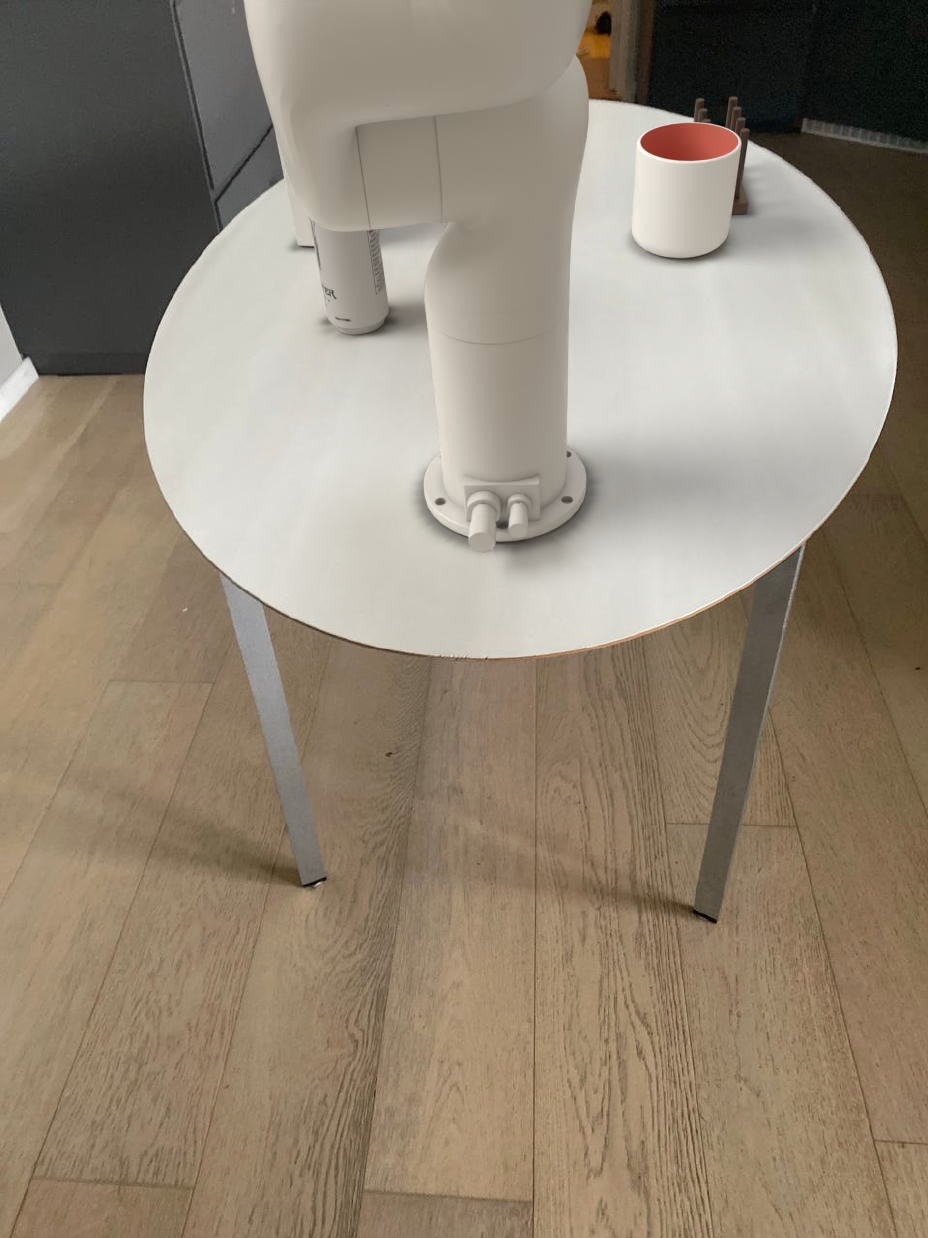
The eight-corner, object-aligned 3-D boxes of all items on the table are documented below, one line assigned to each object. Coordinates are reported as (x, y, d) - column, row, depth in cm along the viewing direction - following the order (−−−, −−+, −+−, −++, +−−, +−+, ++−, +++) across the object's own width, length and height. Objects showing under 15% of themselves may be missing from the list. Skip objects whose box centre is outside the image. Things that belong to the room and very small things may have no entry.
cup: (617, 254, 99) (623, 155, 92) (647, 213, 105) (655, 117, 97) (712, 269, 95) (726, 167, 88) (738, 226, 101) (753, 127, 94)
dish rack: (747, 213, 103) (759, 134, 97) (690, 215, 104) (699, 137, 98) (732, 168, 111) (742, 92, 105) (680, 170, 112) (687, 94, 106)
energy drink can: (329, 309, 95) (300, 154, 84) (388, 302, 95) (367, 146, 84) (329, 340, 91) (298, 182, 80) (391, 333, 91) (369, 174, 80)
